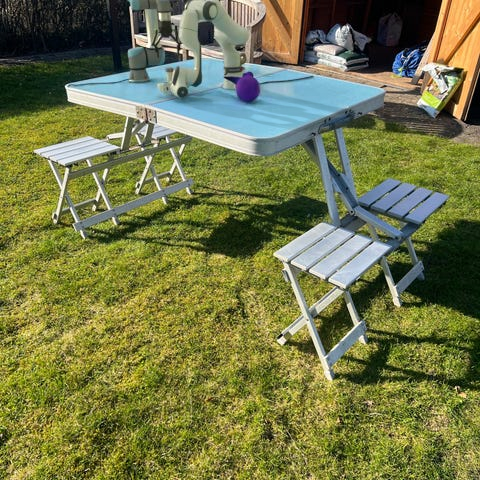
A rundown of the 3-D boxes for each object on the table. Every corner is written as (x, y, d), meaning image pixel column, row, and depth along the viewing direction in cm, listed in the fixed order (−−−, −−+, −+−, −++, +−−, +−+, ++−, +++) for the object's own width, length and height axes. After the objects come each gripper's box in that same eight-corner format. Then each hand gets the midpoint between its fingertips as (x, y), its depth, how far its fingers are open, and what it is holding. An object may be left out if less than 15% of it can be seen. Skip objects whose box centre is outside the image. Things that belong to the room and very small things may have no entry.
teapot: (227, 72, 362) (226, 52, 355) (220, 70, 371) (219, 51, 363) (249, 69, 371) (249, 50, 364) (242, 67, 380) (242, 48, 372)
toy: (245, 93, 294) (260, 108, 274) (220, 89, 287) (233, 103, 266) (251, 69, 286) (267, 82, 266) (226, 64, 279) (240, 76, 258)
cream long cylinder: (176, 93, 300) (174, 68, 292) (170, 95, 297) (168, 69, 289) (172, 92, 303) (170, 67, 294) (166, 94, 300) (164, 68, 292)
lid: (175, 71, 292) (174, 67, 291) (168, 72, 289) (168, 68, 288) (170, 70, 296) (170, 66, 295) (164, 71, 293) (163, 68, 292)
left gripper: (182, 18, 285) (185, 54, 295) (143, 20, 277) (147, 57, 287) (186, 19, 279) (188, 56, 289) (146, 21, 271) (150, 59, 281)
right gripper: (191, 80, 288) (185, 77, 299) (159, 83, 281) (154, 79, 292) (191, 90, 291) (185, 86, 302) (160, 94, 284) (155, 89, 296)
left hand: (168, 57), depth 288 cm, fingers open, 13 cm apart
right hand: (170, 83), depth 297 cm, fingers closed on cream long cylinder, 4 cm apart
